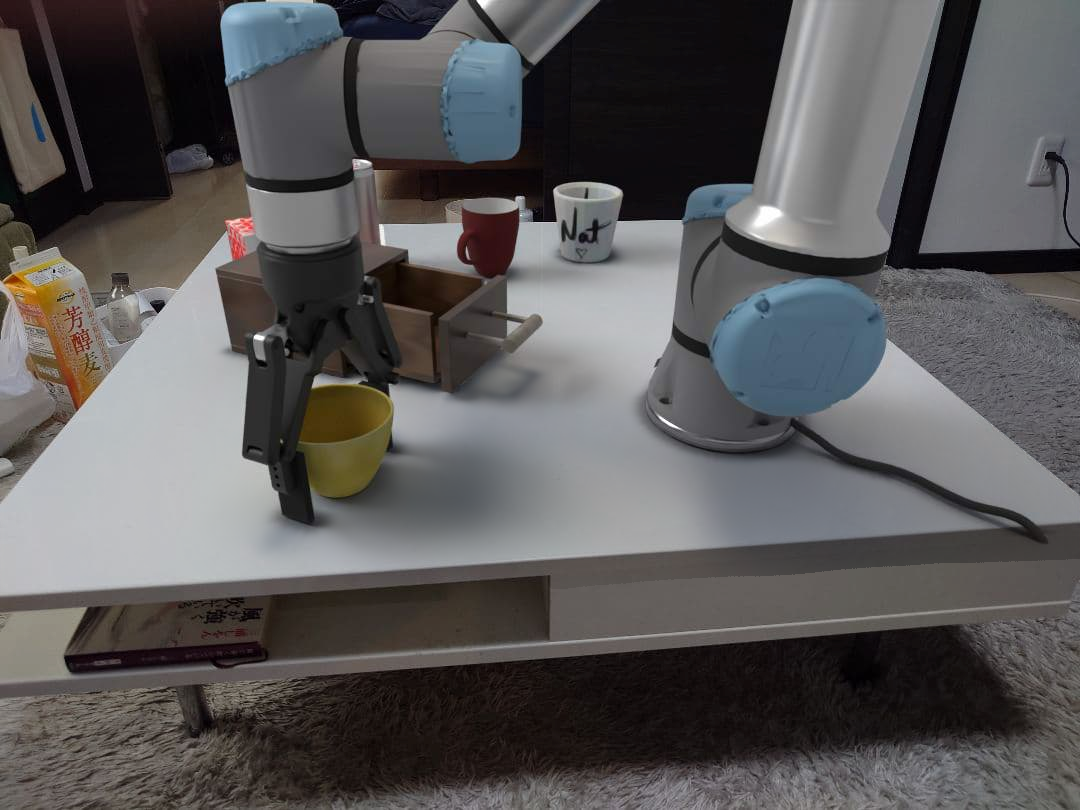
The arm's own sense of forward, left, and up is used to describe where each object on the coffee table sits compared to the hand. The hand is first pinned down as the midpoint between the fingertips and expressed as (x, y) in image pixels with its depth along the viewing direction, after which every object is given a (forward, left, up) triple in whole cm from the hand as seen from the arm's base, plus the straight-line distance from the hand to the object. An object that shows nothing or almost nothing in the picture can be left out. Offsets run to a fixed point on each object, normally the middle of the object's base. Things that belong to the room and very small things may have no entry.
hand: (341, 478), depth 68 cm
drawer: (+2, -23, +1) cm, 23 cm away
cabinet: (+19, -23, 0) cm, 30 cm away
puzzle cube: (+38, -36, 0) cm, 52 cm away
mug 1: (+11, -50, 0) cm, 51 cm away
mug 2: (+2, -67, 0) cm, 67 cm away
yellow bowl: (0, 0, 0) cm, 0 cm away
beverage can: (+29, -45, 0) cm, 53 cm away
